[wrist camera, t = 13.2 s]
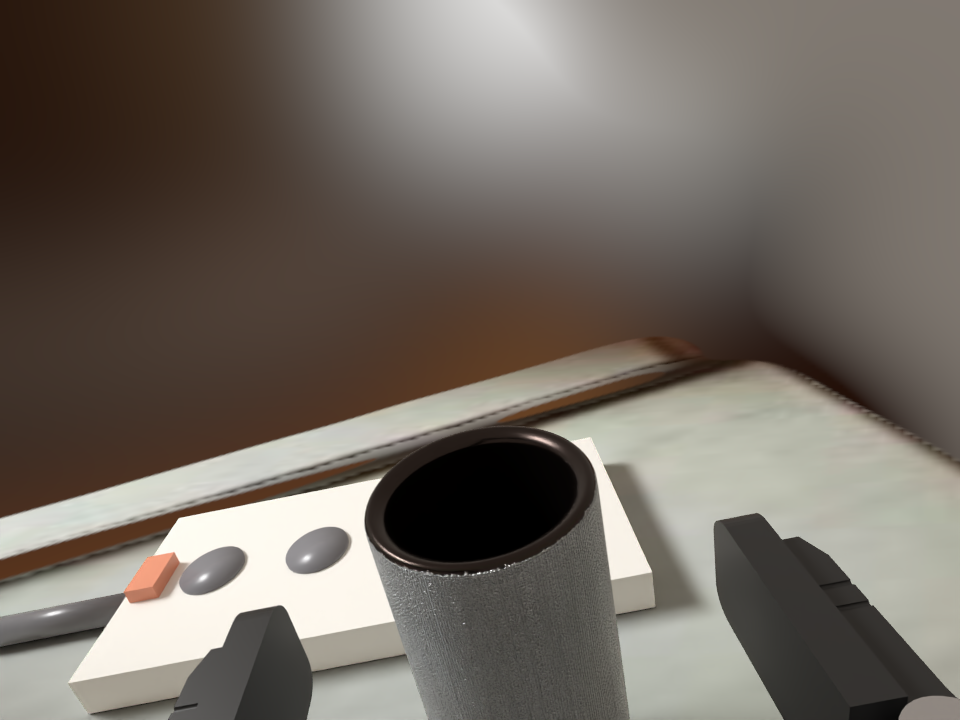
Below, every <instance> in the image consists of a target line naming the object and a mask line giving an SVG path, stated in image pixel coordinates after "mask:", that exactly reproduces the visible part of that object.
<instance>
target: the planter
mask: <svg viewBox="0 0 960 720" xmlns="http://www.w3.org/2000/svg"><path fill="white" fill-rule="evenodd" d="M364 528H365V533H366V537H367V540H368V543H369V546H370V549H371V552H372V555H373V558H374V561H375V564H376V567H377V570H378V573H379V576H380V579H381V582H382V585H383V588H384V591H385V594H386V597H387V599H388V602H389V605H390V608H391V611H392V614H393V617H394V620H395V623H396V626H397V629H398V632H399V635H400V638H401V641H402V644H403V647H404V649H405V652H406V655H407V658H408V661H409V664H410V667H411V670H412V673H413V676H414V679H415V682H416V685H417V688H418V691H419V694H420V697H421V699H422V702H423V705H424V708H425V711H426V714H427V717H428V720H630V717H629V710H628V702H627V695H626V687H625V680H624V673H623V665H622V658H621V650H620V643H619V636H618V628H617V621H616V613H615V606H614V599H613V591H612V584H611V576H610V569H609V562H608V554H607V547H606V540H605V532H604V525H603V517H602V510H601V503H600V496H599V488H598V482H597V477H596V473H595V470H594V467H593V465H592V463H591V462H590V460H589V458H588V457H587V456H586V455H585V453H584V452H583V451H582V450H581V449H580V448H578V447H577V446H576V445H575V444H573V443H572V442H570V441H569V440H567V439H565V438H563V437H561V436H559V435H556V434H554V433H551V432H548V431H544V430H540V429H535V428H529V427H520V426H496V427H486V428H479V429H473V430H469V431H464V432H460V433H457V434H453V435H450V436H447V437H444V438H442V439H439V440H437V441H434V442H432V443H430V444H428V445H426V446H424V447H422V448H420V449H418V450H416V451H415V452H413V453H411V454H410V455H408V456H407V457H405V458H404V459H403V460H401V461H400V462H399V463H397V464H396V465H395V466H394V467H393V468H392V469H391V470H389V471H388V472H387V474H386V475H385V476H384V477H383V478H382V479H381V480H380V482H379V483H378V484H377V486H376V487H375V489H374V490H373V492H372V494H371V496H370V498H369V501H368V503H367V506H366V510H365V516H364Z"/></svg>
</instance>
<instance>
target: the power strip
mask: <svg viewBox="0 0 960 720" xmlns="http://www.w3.org/2000/svg"><path fill="white" fill-rule="evenodd" d="M570 442H572V443H573V444H575V445H576V446H577V447H578V448H580V449H581V450H582V451H583V452H584V453H585V455H586V456H587V457H588V458H589V460H590V462H591V463H592V465H593V467H594V470H595V473H596V477H597V482H598V488H599V496H600V503H601V510H602V517H603V525H604V532H605V540H606V547H607V554H608V562H609V569H610V576H611V584H612V591H613V599H614V606H615V613H616V614H621V613H626V612H632V611H637V610H642V609H647V608H653V607H656V606H655V596H654V586H653V576H652V571H651V569H650V566H649V564H648V562H647V560H646V558H645V555H644V553H643V551H642V549H641V547H640V544H639V542H638V540H637V538H636V536H635V533H634V531H633V529H632V527H631V525H630V522H629V520H628V518H627V516H626V514H625V511H624V509H623V507H622V505H621V503H620V500H619V498H618V496H617V494H616V492H615V489H614V487H613V485H612V483H611V481H610V478H609V476H608V474H607V472H606V470H605V467H604V465H603V463H602V461H601V459H600V456H599V454H598V452H597V450H596V448H595V446H594V443H593V441H592V439H591V437H589V438H584V439H579V440H574V441H570ZM381 479H382V478H381ZM381 479H376V480H371V481H366V482H361V483H355V484H350V485H345V486H340V487H335V488H330V489H325V490H320V491H315V492H310V493H305V494H300V495H295V496H289V497H284V498H279V499H274V500H269V501H264V502H259V503H254V504H249V505H244V506H239V507H234V508H228V509H223V510H218V511H213V512H208V513H203V514H198V515H193V516H188V517H183V518H179V519H178V520H177V522H176V524H175V525H174V526H173V528H172V529H171V531H170V532H169V534H168V535H167V537H166V538H165V540H164V541H163V543H162V544H161V546H160V547H159V549H158V550H157V552H156V553H155V555H154V556H151V557H147V559H146V560H145V562H144V563H143V565H142V566H141V567H140V569H139V570H138V572H137V573H136V575H135V576H134V578H133V579H132V581H131V582H130V584H129V585H128V586H127V588H126V589H125V591H124V593H121V594H116V595H111V596H106V597H100V598H95V599H90V600H85V601H80V602H75V603H69V604H64V605H59V606H54V607H49V608H44V609H39V610H33V611H28V612H23V613H18V614H13V615H8V616H2V617H0V647H1V646H6V645H11V644H17V643H22V642H27V641H32V640H37V639H42V638H48V637H53V636H58V635H63V634H68V633H74V632H79V631H84V630H89V629H94V628H100V627H105V626H106V627H105V629H104V630H103V632H102V633H101V635H100V636H99V638H98V639H97V641H96V642H95V644H94V645H93V646H92V648H91V649H90V651H89V652H88V654H87V655H86V657H85V658H84V660H83V661H82V663H81V664H80V666H79V667H78V669H77V670H76V672H75V673H74V675H73V676H72V678H71V679H70V681H69V682H68V685H69V686H70V688H71V689H72V691H73V692H74V693H75V695H76V696H77V698H78V699H79V701H80V702H81V704H82V705H83V707H84V708H85V709H86V711H87V712H88V714H91V713H96V712H101V711H107V710H112V709H117V708H122V707H128V706H133V705H138V704H144V703H149V702H154V701H160V700H165V699H170V698H175V697H179V695H180V693H181V691H182V689H183V687H184V685H185V682H186V680H187V678H188V677H189V675H190V674H191V673H192V672H193V671H194V669H195V668H196V667H197V666H198V664H199V663H200V662H201V661H202V660H203V658H204V657H205V656H206V655H207V654H208V652H209V651H210V650H211V649H215V648H220V647H223V644H224V642H225V639H226V637H227V635H228V632H229V630H230V628H231V625H232V623H233V621H234V619H235V617H236V616H237V615H238V614H239V613H242V612H247V611H252V610H257V609H262V608H267V607H272V606H277V605H282V606H283V607H285V609H286V610H287V612H288V614H289V616H290V619H291V621H292V623H293V625H294V628H295V630H296V632H297V635H298V637H299V639H300V641H301V644H302V646H303V648H304V650H305V653H306V655H307V657H308V660H309V662H310V666H311V671H312V672H313V671H319V670H324V669H329V668H335V667H340V666H345V665H350V664H356V663H361V662H366V661H372V660H377V659H382V658H388V657H393V656H398V655H403V654H406V652H405V649H404V647H403V644H402V641H401V638H400V635H399V632H398V629H397V626H396V623H395V620H394V617H393V614H392V611H391V608H390V605H389V602H388V599H387V597H386V594H385V591H384V588H383V585H382V582H381V579H380V576H379V573H378V570H377V567H376V564H375V561H374V558H373V555H372V552H371V549H370V546H369V543H368V540H367V537H366V533H365V528H364V516H365V510H366V506H367V503H368V501H369V498H370V496H371V494H372V492H373V490H374V489H375V487H376V486H377V484H378V483H379V482H380V480H381Z"/></svg>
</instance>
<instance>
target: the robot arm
mask: <svg viewBox="0 0 960 720" xmlns="http://www.w3.org/2000/svg"><path fill="white" fill-rule="evenodd" d="M714 548H715V569H716V586H717V592H718V596H719V600H720V603H721V606H722V609H723V611H724V614H725V616H726V618H727V620H728V622H729V624H730V625H731V627H732V629H733V631H734V633H735V634H736V636H737V638H738V640H739V641H740V643H741V645H742V647H743V648H744V650H745V652H746V654H747V655H748V657H749V659H750V661H751V662H752V664H753V666H754V668H755V670H756V671H757V673H758V675H759V677H760V678H761V680H762V682H763V684H764V685H765V687H766V689H767V691H768V692H769V694H770V696H771V698H772V699H773V701H774V703H775V705H776V707H777V708H778V710H779V712H780V714H781V715H782V717H783V719H784V720H960V699H958V698H957V697H955V696H954V695H953V694H952V693H951V692H950V691H949V690H948V689H947V688H946V687H945V686H944V685H943V683H942V682H941V681H940V680H939V679H938V678H937V677H936V676H935V674H934V673H933V672H932V671H931V670H930V669H929V668H928V667H927V665H926V664H925V663H924V662H923V661H922V660H921V659H920V658H919V656H918V655H917V654H916V653H915V652H914V651H913V650H912V649H911V647H910V646H909V645H908V644H907V643H906V642H905V641H904V639H903V638H902V637H901V636H900V635H899V634H898V633H897V632H896V630H895V629H894V628H893V627H892V626H891V625H890V624H889V623H888V621H887V620H886V619H885V618H884V617H883V616H882V615H881V614H880V612H879V611H878V610H877V609H876V608H875V607H874V606H871V605H870V604H869V601H868V599H867V598H866V597H865V596H864V594H863V593H862V592H861V591H860V590H859V589H858V588H857V587H856V585H855V584H854V585H852V583H851V581H850V579H849V578H848V576H847V575H846V574H845V573H844V572H843V571H842V570H841V569H840V567H839V566H838V565H837V564H836V563H835V562H834V561H833V560H832V558H831V557H830V556H829V555H828V554H826V553H824V552H823V551H821V550H819V549H818V548H816V547H815V546H813V545H811V544H810V543H808V542H806V541H805V540H803V539H801V538H800V537H794V538H789V539H784V540H782V539H781V538H780V537H779V535H778V534H777V533H776V532H775V531H774V529H773V528H772V527H771V526H770V524H769V523H768V522H767V521H766V519H765V518H764V517H763V516H762V515H760V514H758V513H755V514H750V515H744V516H739V517H734V518H729V519H724V520H719V521H716V522H715V524H714ZM312 687H313V681H312V671H311V666H310V662H309V660H308V657H307V655H306V653H305V650H304V648H303V646H302V644H301V641H300V639H299V637H298V635H297V632H296V630H295V628H294V625H293V623H292V621H291V619H290V616H289V614H288V612H287V610H286V609H285V607H283V606H282V605H277V606H272V607H267V608H262V609H257V610H252V611H247V612H242V613H239V614H238V615H237V616H236V617H235V619H234V621H233V623H232V625H231V628H230V630H229V632H228V635H227V637H226V639H225V642H224V644H223V647H220V648H215V649H211V650H210V651H209V652H208V654H207V655H206V656H205V657H204V658H203V660H202V661H201V662H200V663H199V664H198V666H197V667H196V668H195V669H194V671H193V672H192V673H191V674H190V675H189V677H188V678H187V680H186V682H185V685H184V687H183V689H182V691H181V693H180V695H179V698H178V700H177V702H176V704H175V706H174V713H172V714H171V715H170V717H169V719H168V720H307V715H308V711H309V707H310V702H311V697H312Z"/></svg>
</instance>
